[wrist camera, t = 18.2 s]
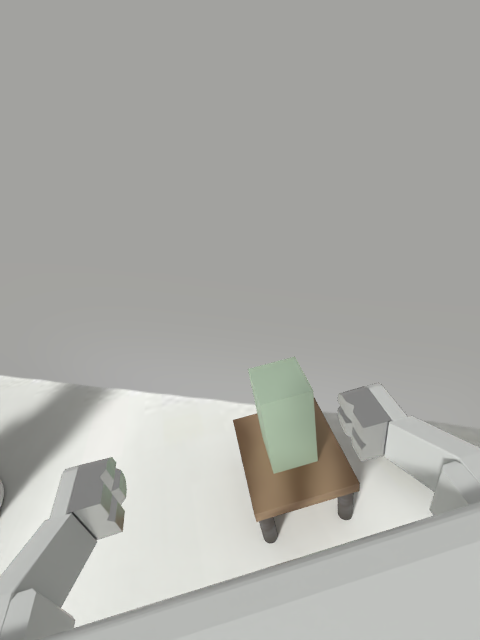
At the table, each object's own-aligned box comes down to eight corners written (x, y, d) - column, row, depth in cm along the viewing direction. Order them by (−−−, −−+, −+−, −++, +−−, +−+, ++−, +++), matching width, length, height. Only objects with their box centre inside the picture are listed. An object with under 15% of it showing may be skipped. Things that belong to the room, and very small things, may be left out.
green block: (273, 473, 36) (260, 405, 29) (262, 436, 40) (248, 369, 34) (317, 461, 36) (313, 390, 30) (301, 425, 40) (294, 356, 34)
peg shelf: (264, 547, 37) (254, 514, 32) (242, 454, 47) (233, 420, 42) (357, 519, 37) (359, 483, 33) (316, 433, 47) (314, 397, 43)
